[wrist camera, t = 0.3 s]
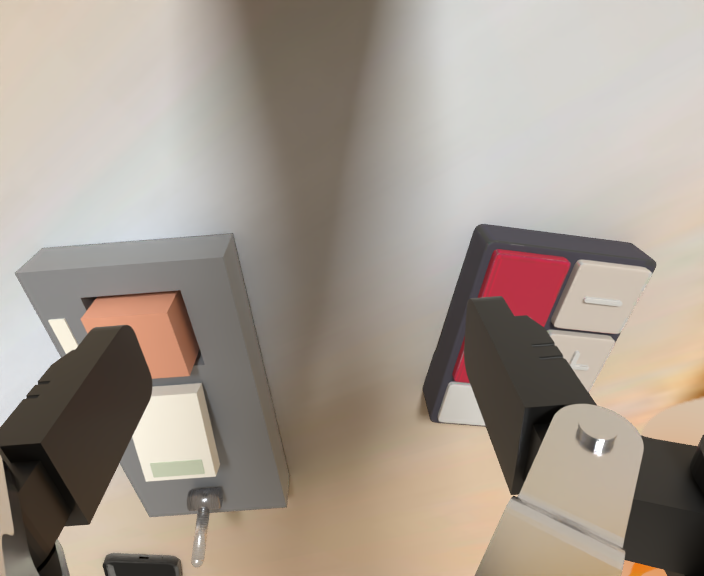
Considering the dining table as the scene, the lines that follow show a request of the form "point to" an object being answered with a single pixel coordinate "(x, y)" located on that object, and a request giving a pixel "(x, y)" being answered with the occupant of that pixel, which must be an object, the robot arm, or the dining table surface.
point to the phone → (141, 565)
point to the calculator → (538, 304)
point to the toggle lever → (202, 517)
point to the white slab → (176, 435)
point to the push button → (151, 328)
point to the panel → (210, 365)
